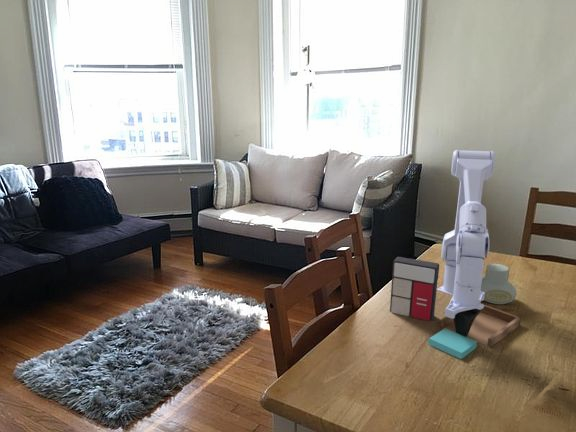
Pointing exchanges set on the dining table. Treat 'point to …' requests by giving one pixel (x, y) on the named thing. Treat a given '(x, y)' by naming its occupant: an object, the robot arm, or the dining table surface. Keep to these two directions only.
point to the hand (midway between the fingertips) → (461, 335)
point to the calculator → (414, 288)
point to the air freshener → (497, 285)
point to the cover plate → (452, 343)
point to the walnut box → (488, 325)
